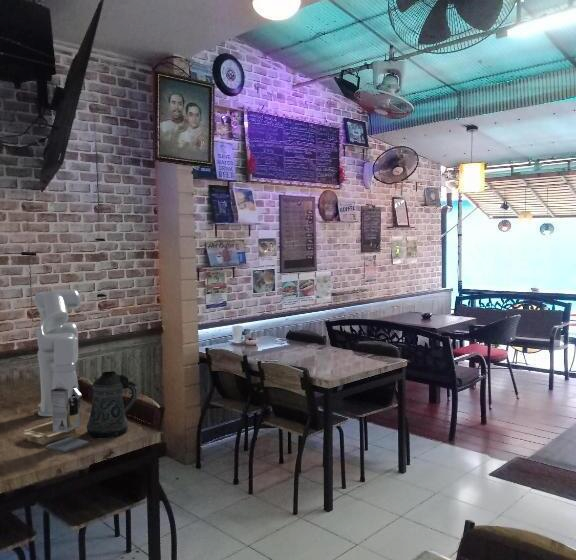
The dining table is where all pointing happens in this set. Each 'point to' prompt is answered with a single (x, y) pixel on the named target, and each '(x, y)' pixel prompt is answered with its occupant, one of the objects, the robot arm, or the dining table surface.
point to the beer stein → (110, 406)
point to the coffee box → (63, 412)
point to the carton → (46, 434)
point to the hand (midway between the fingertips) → (66, 413)
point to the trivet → (67, 444)
